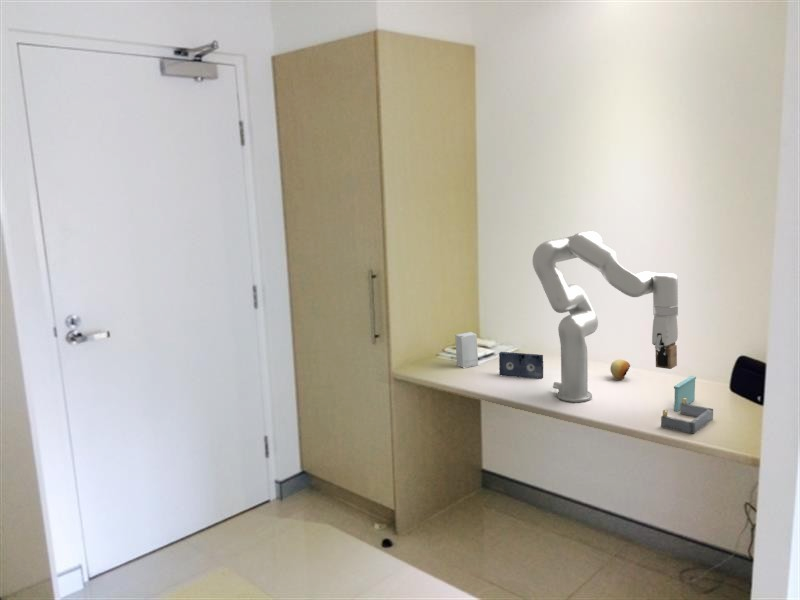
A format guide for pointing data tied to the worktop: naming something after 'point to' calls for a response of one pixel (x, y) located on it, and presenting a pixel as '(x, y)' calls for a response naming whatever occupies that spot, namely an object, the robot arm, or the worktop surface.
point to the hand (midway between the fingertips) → (666, 363)
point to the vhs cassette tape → (521, 365)
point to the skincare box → (466, 349)
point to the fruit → (619, 368)
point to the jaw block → (669, 356)
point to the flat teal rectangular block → (684, 392)
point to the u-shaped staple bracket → (692, 426)
